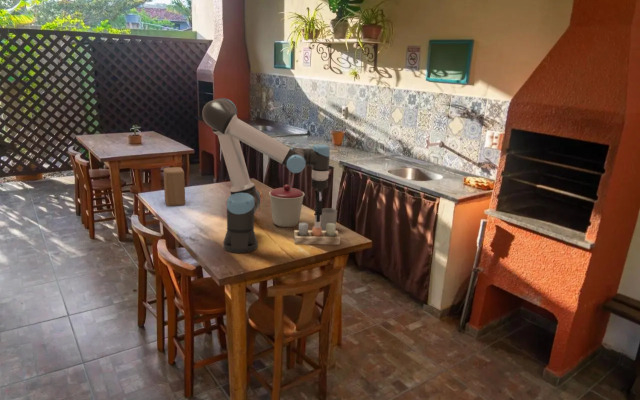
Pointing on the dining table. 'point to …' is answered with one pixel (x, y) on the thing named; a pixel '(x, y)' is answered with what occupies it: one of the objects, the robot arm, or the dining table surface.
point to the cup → (328, 217)
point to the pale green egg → (330, 229)
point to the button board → (316, 238)
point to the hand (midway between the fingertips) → (317, 227)
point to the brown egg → (317, 231)
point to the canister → (286, 205)
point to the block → (174, 186)
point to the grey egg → (303, 229)
